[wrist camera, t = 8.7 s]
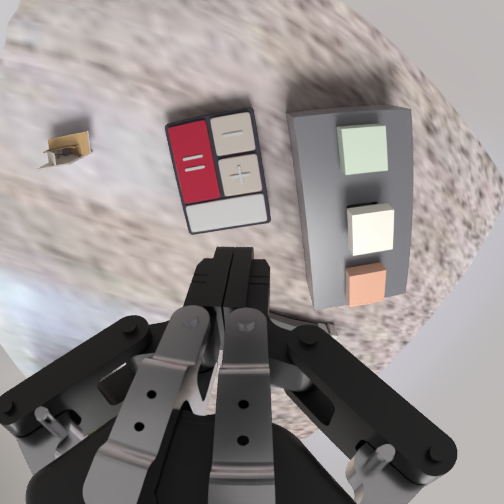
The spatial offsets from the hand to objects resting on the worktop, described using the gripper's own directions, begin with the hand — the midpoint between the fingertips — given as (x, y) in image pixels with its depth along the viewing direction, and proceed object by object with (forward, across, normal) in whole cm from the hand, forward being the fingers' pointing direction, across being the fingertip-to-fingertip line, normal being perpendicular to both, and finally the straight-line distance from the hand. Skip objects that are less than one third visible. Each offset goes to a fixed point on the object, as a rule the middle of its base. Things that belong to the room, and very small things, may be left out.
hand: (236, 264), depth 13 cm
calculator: (+30, +6, +6) cm, 31 cm away
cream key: (+25, -12, +10) cm, 29 cm away
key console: (+30, -12, +11) cm, 34 cm away
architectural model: (+28, +27, +1) cm, 39 cm away
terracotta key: (+25, -13, +19) cm, 35 cm away
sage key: (+27, -11, +1) cm, 29 cm away
